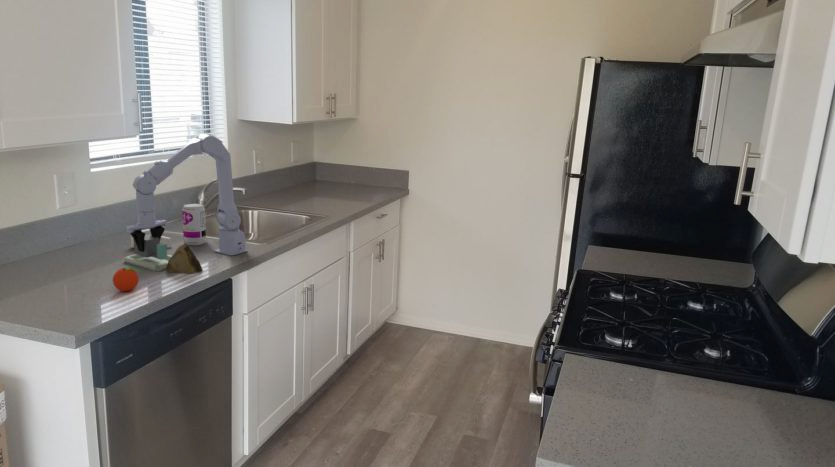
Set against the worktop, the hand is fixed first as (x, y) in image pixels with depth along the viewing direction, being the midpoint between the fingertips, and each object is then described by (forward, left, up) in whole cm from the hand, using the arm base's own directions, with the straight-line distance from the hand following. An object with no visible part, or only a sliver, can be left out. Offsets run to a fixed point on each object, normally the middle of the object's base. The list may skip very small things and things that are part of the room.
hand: (148, 249), depth 208 cm
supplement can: (+8, -26, -5) cm, 28 cm away
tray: (-3, 0, -4) cm, 5 cm away
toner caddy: (-2, 0, -2) cm, 3 cm away
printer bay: (+15, -12, -4) cm, 20 cm away
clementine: (-21, +22, -5) cm, 31 cm away
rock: (-18, 0, -5) cm, 18 cm away
